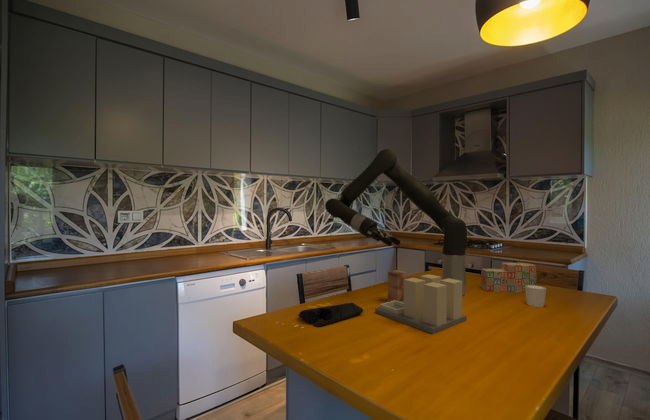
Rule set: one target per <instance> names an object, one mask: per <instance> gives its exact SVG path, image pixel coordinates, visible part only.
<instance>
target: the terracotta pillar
mask: <svg viewBox="0 0 650 420" xmlns="http://www.w3.org/2000/svg"><path fill="white" fill-rule="evenodd" d="M405 279H407V272H406V271H402V270H398V269H396V270H395V269H394V270H390V271H388V272H387V302H389V301H394V300H396V301H399V302H401V301H404V280H405Z"/></svg>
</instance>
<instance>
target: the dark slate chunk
mask: <svg viewBox="0 0 650 420" xmlns="http://www.w3.org/2000/svg"><path fill="white" fill-rule="evenodd" d="M363 312H364V309H363V308H362V307H360V306H359V305H357V304H356V303H354V302H346V303H342V304H341V303H340V304H336V305H335V304H333V305H329V306H328V305H327V306H322V307H320V306H319V307H316V308H308V309H303V310H300V312H299V314H298V315H297V317H299V318H301V319H302V321H303V322H305V323H306V324H308V325H310V326H311V325H312V326H313V327H317V328H321V327H324V326H326V325H333V324H335V323H339V322H341V321H345V320H348V319H350V318H355V317H356V316H358V315H359V314H362V313H363Z"/></svg>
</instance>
